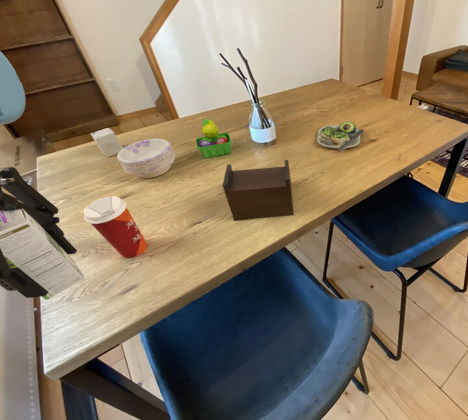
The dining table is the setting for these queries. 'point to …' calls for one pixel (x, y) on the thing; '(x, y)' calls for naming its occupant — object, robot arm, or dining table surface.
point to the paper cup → (116, 225)
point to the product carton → (107, 142)
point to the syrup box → (36, 252)
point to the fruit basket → (213, 141)
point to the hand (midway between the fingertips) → (54, 272)
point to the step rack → (259, 192)
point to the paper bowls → (147, 158)
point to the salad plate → (339, 136)
